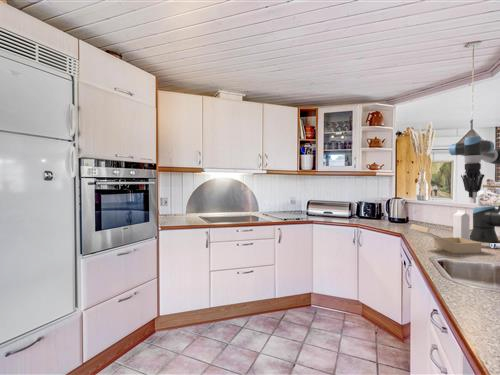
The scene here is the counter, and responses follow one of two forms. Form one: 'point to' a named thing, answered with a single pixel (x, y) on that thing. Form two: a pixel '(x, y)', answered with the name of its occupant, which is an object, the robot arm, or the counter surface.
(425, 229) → the lid
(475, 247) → the base
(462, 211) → the milk
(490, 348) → the counter surface
